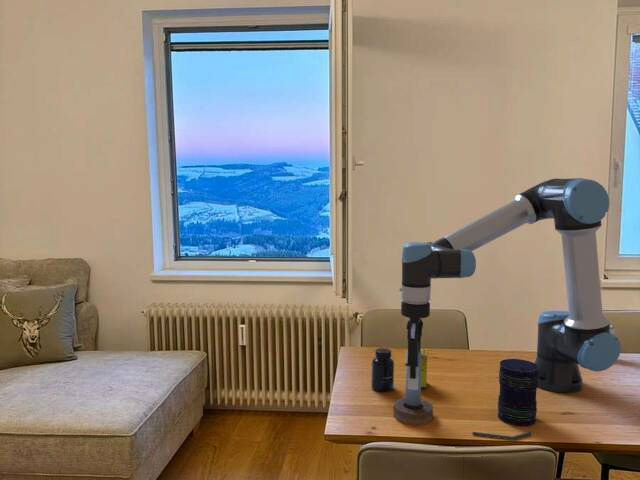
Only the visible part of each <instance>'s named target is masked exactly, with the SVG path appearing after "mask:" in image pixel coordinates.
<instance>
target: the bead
mask: <svg viewBox="0 0 640 480" xmlns="http://www.w3.org/2000/svg"><path fill="white" fill-rule="evenodd" d="M393 417H394V418H395V420H396V421H398V422H401V423H403V424H406V425H412V426H420V425H422V426H423V425H427V424H429V423H431V422H432V421H433V417H434V405H433V404H432V403H431V402H430V401H428V400H425V399H423V398H421V404H420V405H417V406H411V405H408V404H406V397H402V398H399V399H398V400H395V401H394V404H393Z"/></svg>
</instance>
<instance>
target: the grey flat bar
mask: <svg viewBox="0 0 640 480" xmlns="http://www.w3.org/2000/svg"><path fill="white" fill-rule="evenodd" d="M473 434H474V435H473ZM532 434H533V433H532V432H531V431H528V432H525V433H519V434H517V435H511V436H510V435H502V434H494V433H485V432H479V431H477V432H476V431H472V435H473V436H476V435H481V436H480V437H484V436H489V437H488V438H492V437H500V438H499V439H501V438H507V439H506V440H509V439H514V440H513V441H516V440H518V439H517V438H519V439H522V438H521V437H523V438H525V437H529V436H532Z"/></svg>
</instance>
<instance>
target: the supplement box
mask: <svg viewBox="0 0 640 480" xmlns="http://www.w3.org/2000/svg"><path fill="white" fill-rule="evenodd" d="M421 353H422V356H423V359H422V364H421V390H427V375H428V349H425V348H424V349H422V348H421Z"/></svg>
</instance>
